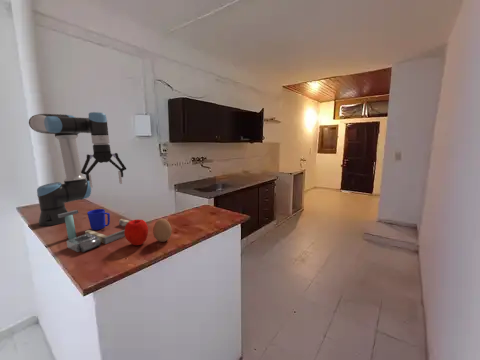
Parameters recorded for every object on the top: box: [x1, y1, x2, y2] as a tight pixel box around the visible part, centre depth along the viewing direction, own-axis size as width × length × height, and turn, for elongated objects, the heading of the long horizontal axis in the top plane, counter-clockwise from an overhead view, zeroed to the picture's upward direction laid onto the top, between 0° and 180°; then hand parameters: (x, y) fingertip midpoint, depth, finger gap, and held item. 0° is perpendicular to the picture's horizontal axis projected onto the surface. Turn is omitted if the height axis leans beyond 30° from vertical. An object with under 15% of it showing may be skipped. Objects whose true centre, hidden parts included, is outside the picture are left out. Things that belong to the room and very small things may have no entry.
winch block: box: [66, 233, 102, 253], centre depth 106 cm, size 13×9×4 cm
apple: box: [124, 218, 149, 246], centre depth 106 cm, size 10×10×12 cm
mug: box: [86, 208, 111, 231], centre depth 127 cm, size 8×12×10 cm
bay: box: [84, 218, 130, 245], centre depth 121 cm, size 18×20×3 cm
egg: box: [152, 217, 173, 243], centre depth 109 cm, size 8×8×11 cm
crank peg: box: [58, 209, 79, 240], centre depth 115 cm, size 3×8×13 cm, turn 149°
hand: (106, 185), depth 120 cm, fingers open, 13 cm apart
